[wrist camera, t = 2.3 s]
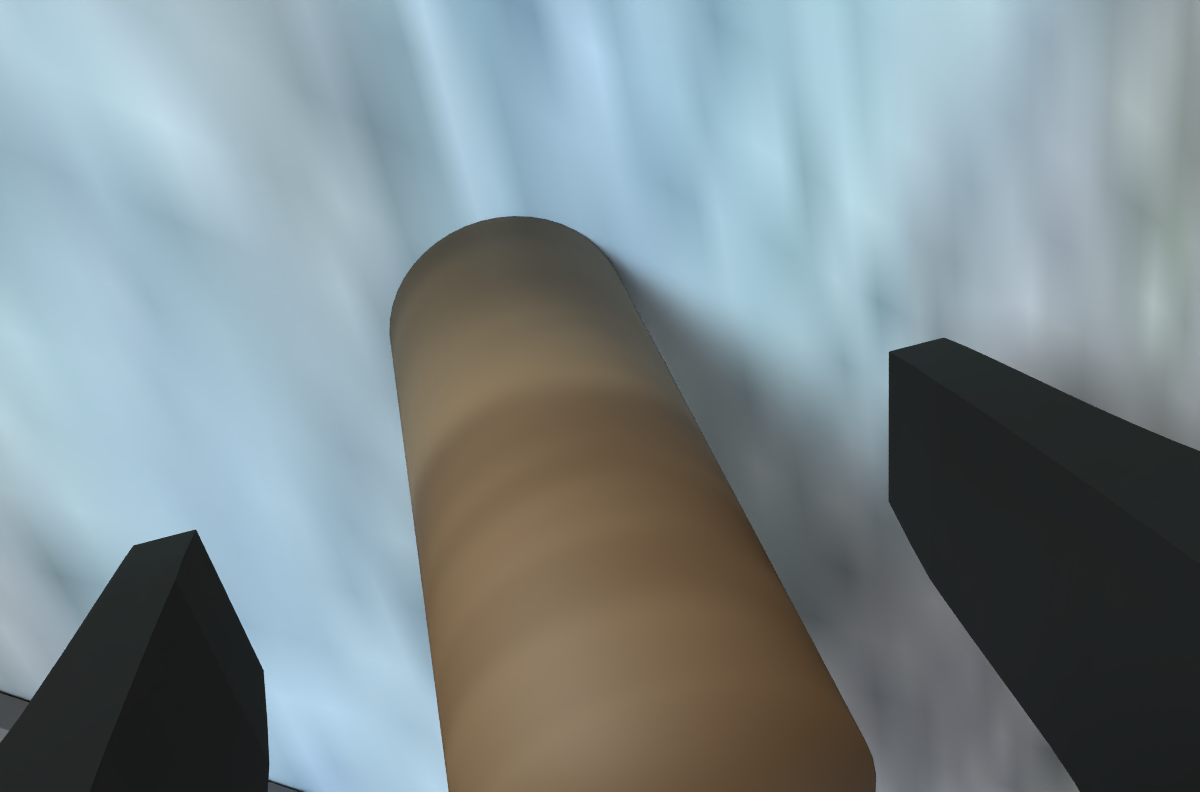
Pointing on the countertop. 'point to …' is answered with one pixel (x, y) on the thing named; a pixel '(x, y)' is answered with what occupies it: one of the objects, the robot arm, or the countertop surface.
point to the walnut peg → (590, 545)
